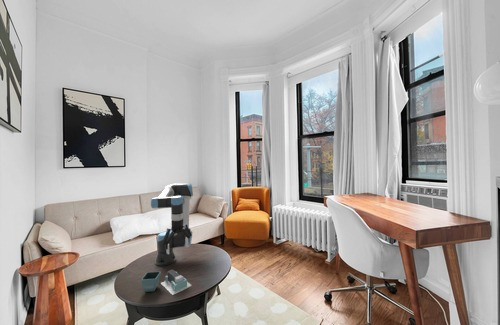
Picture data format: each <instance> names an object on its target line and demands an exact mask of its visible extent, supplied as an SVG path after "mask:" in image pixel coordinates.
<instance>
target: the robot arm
mask: <svg viewBox="0 0 500 325" xmlns="http://www.w3.org/2000/svg"><path fill="white" fill-rule="evenodd" d="M193 193H194V192H193V185H192V183H186V182H185V183H172V184H168V185H167V186H165V187H164V188H163V189H162V191H161V193H160V194H159V195H158V197H152V198H151V200H150V207H151V208H152V209H168V208H169V209H171V212H170V213H171V218H170V219H171V223H170V224H171V225H170V226H171V228H166V230H165V231H162V232H160V233H159V234H158V235H157V238H156V244H157V246H156V247H157V254H156V256H155V260H154V264H155V265H156V266H159V267H161V266H162V267H164V266H169V265H171V264H174V262H176V254H175V252H174V249H177V248H178V249H179V248H189V247H190V246H191V244H192V239H193V231H192V230H191V228H190V200H192V197H193V196H194V194H193Z"/></svg>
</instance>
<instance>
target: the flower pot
mask: <svg viewBox="0 0 500 325" xmlns="http://www.w3.org/2000/svg"><path fill="white" fill-rule="evenodd" d="M161 273H162V272H161V271H147V272H145V274H144V276H142V278H141V280H140V281H141V285H142V289H143V291H145V293H149V292H150V293H151V292H152V293H153V292H155V291H156V289H157V288H158V287H159V283H160V280H161Z"/></svg>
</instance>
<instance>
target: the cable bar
mask: <svg viewBox="0 0 500 325" xmlns="http://www.w3.org/2000/svg"><path fill="white" fill-rule="evenodd" d="M176 272H177V271H175V270H174V269H170V270H168V271H167V276H168V281H169V282H170V283H171V281H174V283H176V284H177V283H179V282H181V281H183V277H184V276H183V275H181V274H179V273H178V272H177V273H176Z"/></svg>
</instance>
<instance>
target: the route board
mask: <svg viewBox="0 0 500 325" xmlns="http://www.w3.org/2000/svg"><path fill="white" fill-rule="evenodd" d="M175 272H176V273H178V271H175ZM164 278H165V280H164V281H163V282H160V285H161V286H162V287H163V288H164V289H166V291H167V292H168V293H169V294H170V295H171V296H174V295H176V294H178V293H180V292H182V291H184V290H186V289H188V288H191V287H192V286H193V285H192V284H191V283H190V282H188V279H187V278H185V277H184V276H183V281H181V282H179V283H177V284H176V283H174V281H171V283H170V282H169V281H168V275H165V277H164Z"/></svg>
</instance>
